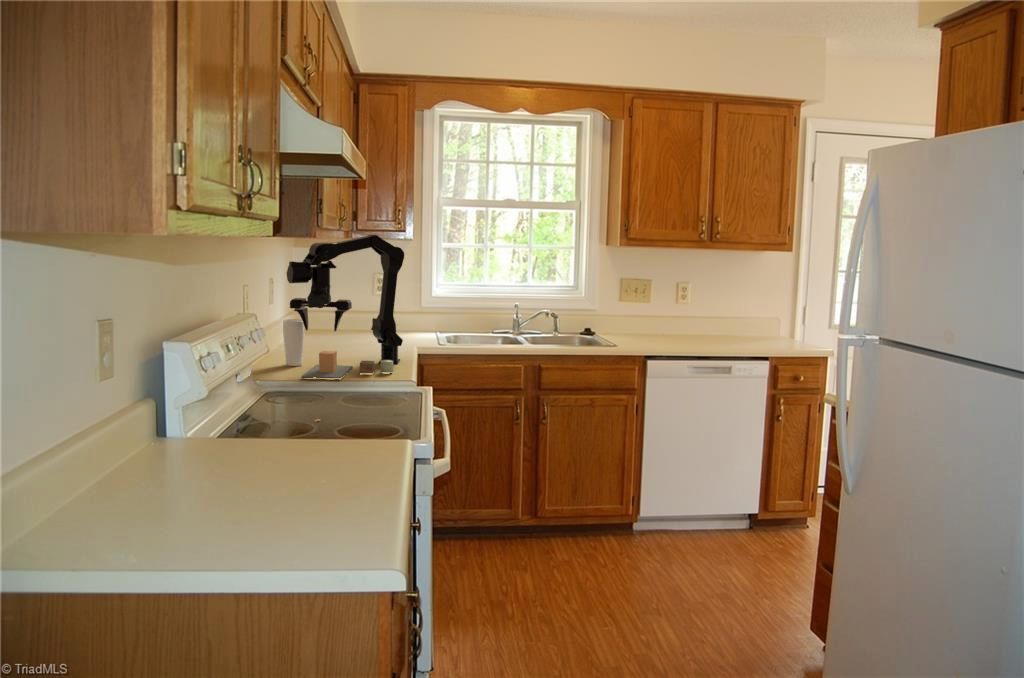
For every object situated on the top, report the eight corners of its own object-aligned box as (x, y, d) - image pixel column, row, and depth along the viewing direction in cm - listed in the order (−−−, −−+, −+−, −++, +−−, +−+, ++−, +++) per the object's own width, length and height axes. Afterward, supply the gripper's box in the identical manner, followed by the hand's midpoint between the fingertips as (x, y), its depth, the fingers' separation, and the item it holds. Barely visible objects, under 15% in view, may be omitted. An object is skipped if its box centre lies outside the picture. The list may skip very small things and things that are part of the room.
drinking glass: (282, 363, 263) (281, 319, 261) (302, 362, 266) (302, 318, 264) (285, 367, 257) (284, 322, 255) (306, 366, 260) (306, 321, 258)
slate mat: (316, 367, 259) (316, 364, 259) (352, 368, 259) (352, 365, 259) (301, 379, 241) (301, 376, 241) (340, 380, 241) (340, 377, 241)
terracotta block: (322, 369, 252) (322, 350, 251) (336, 369, 252) (336, 351, 251) (319, 372, 248) (319, 353, 247) (333, 372, 248) (333, 353, 247)
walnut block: (361, 372, 254) (361, 360, 253) (374, 373, 254) (374, 360, 253) (359, 375, 250) (359, 362, 249) (372, 375, 250) (372, 363, 249)
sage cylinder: (381, 371, 256) (381, 359, 255) (394, 372, 256) (394, 360, 255) (379, 374, 252) (379, 362, 251) (392, 374, 252) (392, 362, 251)
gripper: (284, 283, 245) (285, 333, 248) (344, 285, 245) (344, 335, 248) (294, 280, 256) (294, 328, 259) (351, 282, 256) (351, 330, 259)
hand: (321, 330), depth 256 cm, fingers open, 9 cm apart
